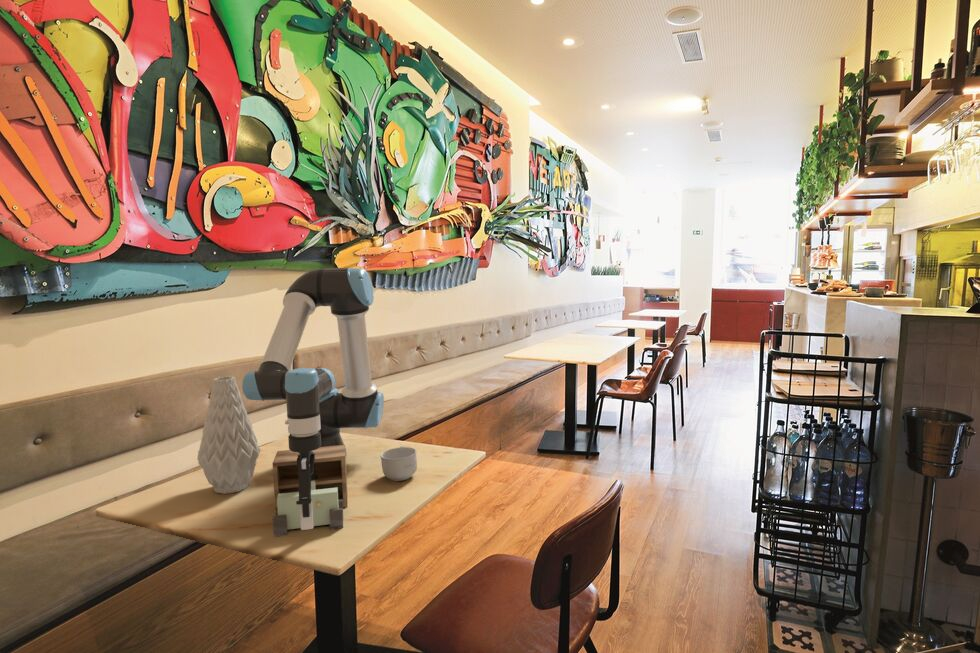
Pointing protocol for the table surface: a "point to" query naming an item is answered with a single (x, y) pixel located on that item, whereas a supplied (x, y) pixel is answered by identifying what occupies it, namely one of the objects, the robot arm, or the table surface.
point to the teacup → (399, 463)
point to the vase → (227, 439)
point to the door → (320, 506)
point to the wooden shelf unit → (329, 476)
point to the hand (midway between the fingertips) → (309, 516)
